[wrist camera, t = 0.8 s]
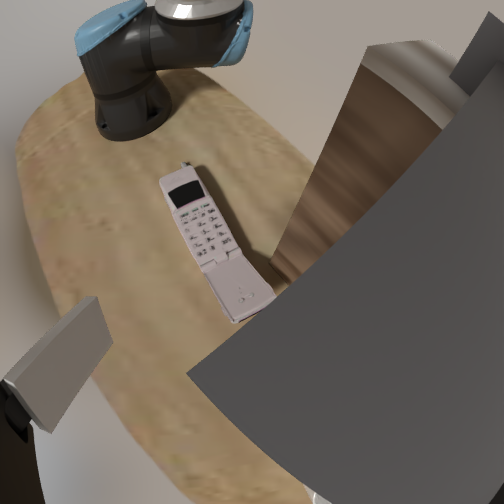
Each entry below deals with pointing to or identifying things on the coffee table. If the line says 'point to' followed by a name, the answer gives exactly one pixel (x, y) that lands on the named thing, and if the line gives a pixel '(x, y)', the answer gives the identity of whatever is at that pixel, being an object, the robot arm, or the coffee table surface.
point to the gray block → (393, 329)
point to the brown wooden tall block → (370, 145)
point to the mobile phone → (214, 246)
